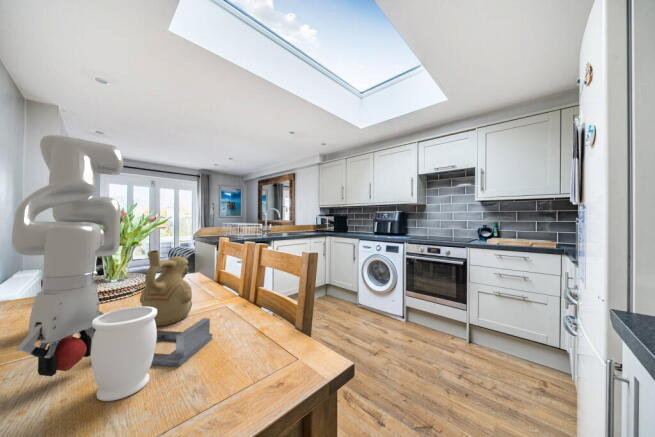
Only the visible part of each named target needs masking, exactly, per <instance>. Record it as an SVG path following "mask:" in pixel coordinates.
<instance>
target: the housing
mask: <svg viewBox="0 0 655 437" xmlns="http://www.w3.org/2000/svg"><path fill="white" fill-rule="evenodd" d="M210 323H211V318H205V317H204V318H201V319H200V320H199V321H197V322H195V323H193V324H192V325H191V326H189V327H188V328H186V329H185V330H183V331H173V330H157V339H156V345H157V344H159V343H160V342H162V341H176V342H175V343H176V344H175V350H173V351H172V352H170V353H168V354H167V353H159V352H158V353H157V352H156V353H155V352H154V356H153V360H152V364H151V366H160V367H161V366H162V367H177V368H180V366H182V365H183V364H184V363H185V362H187V361H188V360H189V359H190V358H191V357H193V356H194V355H195V354H196V353H198V351H200V350H201V349H202V348H203V347H204V346H205V345H207V344H208V343H209V342H210V341H211V340H213V333H211V332H210V331H211V330H210V326H211V325H210Z"/></svg>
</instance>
